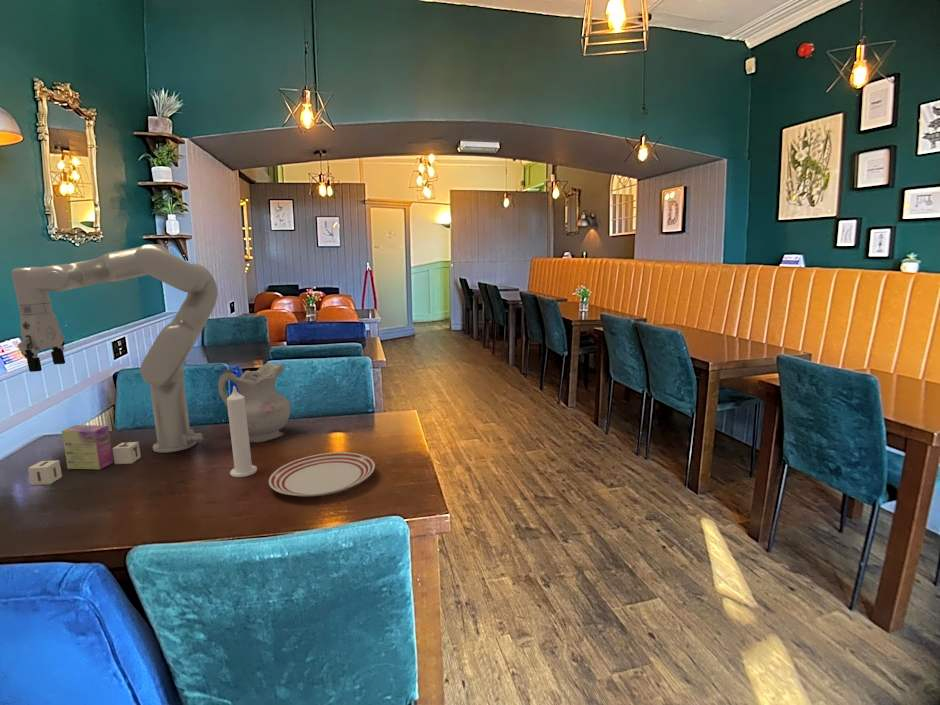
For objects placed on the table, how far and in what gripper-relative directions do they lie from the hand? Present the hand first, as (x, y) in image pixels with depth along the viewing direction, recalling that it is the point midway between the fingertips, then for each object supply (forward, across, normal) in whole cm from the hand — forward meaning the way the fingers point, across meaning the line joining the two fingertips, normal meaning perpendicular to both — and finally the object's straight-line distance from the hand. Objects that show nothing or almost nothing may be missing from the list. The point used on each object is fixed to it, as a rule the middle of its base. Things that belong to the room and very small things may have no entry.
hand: (48, 367), depth 164 cm
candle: (+31, -15, -59) cm, 69 cm away
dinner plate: (+32, -24, -84) cm, 92 cm away
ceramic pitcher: (+31, +14, -53) cm, 63 cm away
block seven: (+30, -3, -20) cm, 36 cm away
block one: (+29, -16, -6) cm, 34 cm away
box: (+29, -6, -11) cm, 32 cm away
